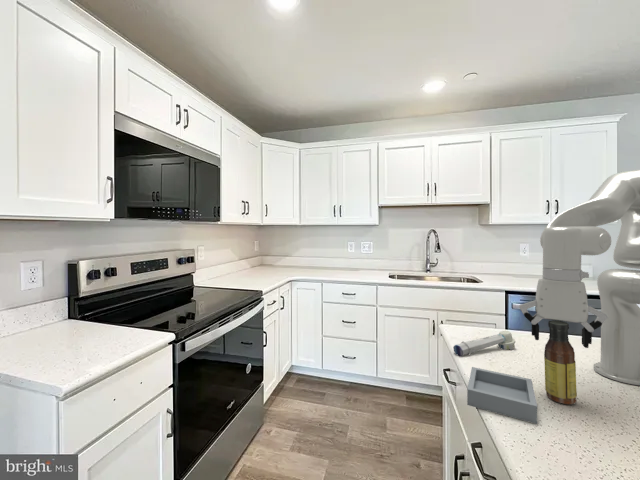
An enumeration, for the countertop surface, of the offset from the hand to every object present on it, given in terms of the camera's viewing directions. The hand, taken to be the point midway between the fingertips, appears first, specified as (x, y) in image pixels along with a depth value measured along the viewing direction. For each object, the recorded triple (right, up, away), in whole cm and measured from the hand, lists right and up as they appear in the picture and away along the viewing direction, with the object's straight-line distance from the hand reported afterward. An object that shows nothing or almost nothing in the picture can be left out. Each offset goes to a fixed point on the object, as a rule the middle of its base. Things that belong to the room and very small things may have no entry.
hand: (559, 342), depth 74 cm
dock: (-15, -15, 0) cm, 21 cm away
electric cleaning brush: (-1, -15, +31) cm, 34 cm away
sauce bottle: (0, -15, 0) cm, 15 cm away
